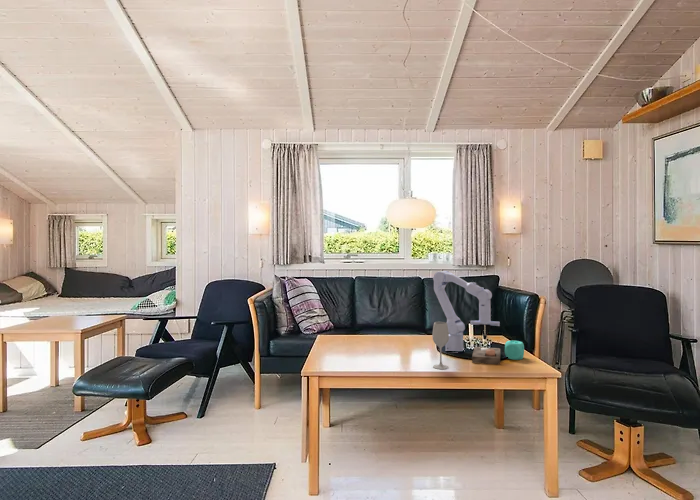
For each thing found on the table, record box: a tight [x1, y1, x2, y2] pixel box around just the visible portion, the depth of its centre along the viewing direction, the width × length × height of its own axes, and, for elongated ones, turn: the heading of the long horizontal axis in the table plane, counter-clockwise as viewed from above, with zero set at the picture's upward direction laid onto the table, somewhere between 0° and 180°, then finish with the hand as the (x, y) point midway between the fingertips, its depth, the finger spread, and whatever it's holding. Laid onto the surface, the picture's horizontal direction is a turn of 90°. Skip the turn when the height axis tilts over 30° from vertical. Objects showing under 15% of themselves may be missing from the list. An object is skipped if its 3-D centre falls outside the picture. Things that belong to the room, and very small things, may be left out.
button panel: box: [471, 346, 501, 365], centre depth 227 cm, size 13×21×3 cm, turn 161°
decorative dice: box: [504, 340, 525, 361], centre depth 227 cm, size 8×8×8 cm
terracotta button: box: [486, 349, 495, 356], centre depth 222 cm, size 4×4×3 cm
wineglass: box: [431, 321, 450, 370], centre depth 212 cm, size 8×8×21 cm
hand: (484, 339), depth 233 cm, fingers closed
